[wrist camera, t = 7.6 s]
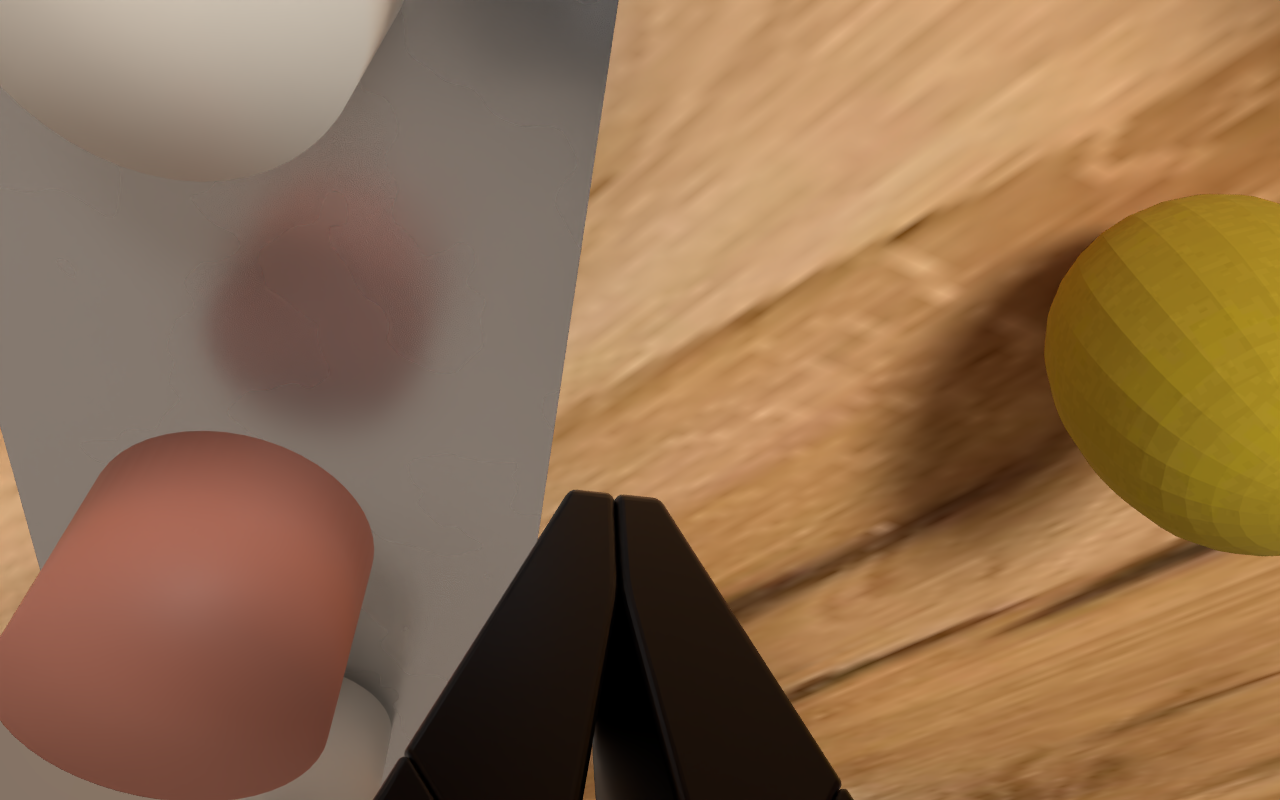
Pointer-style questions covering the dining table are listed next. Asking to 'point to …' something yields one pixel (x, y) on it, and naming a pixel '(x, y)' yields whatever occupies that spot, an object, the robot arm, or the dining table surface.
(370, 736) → the knob far
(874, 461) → the dining table surface
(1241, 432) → the lemon
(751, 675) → the robot arm
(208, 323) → the console
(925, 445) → the dining table surface
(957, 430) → the dining table surface
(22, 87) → the knob near
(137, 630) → the knob middle
